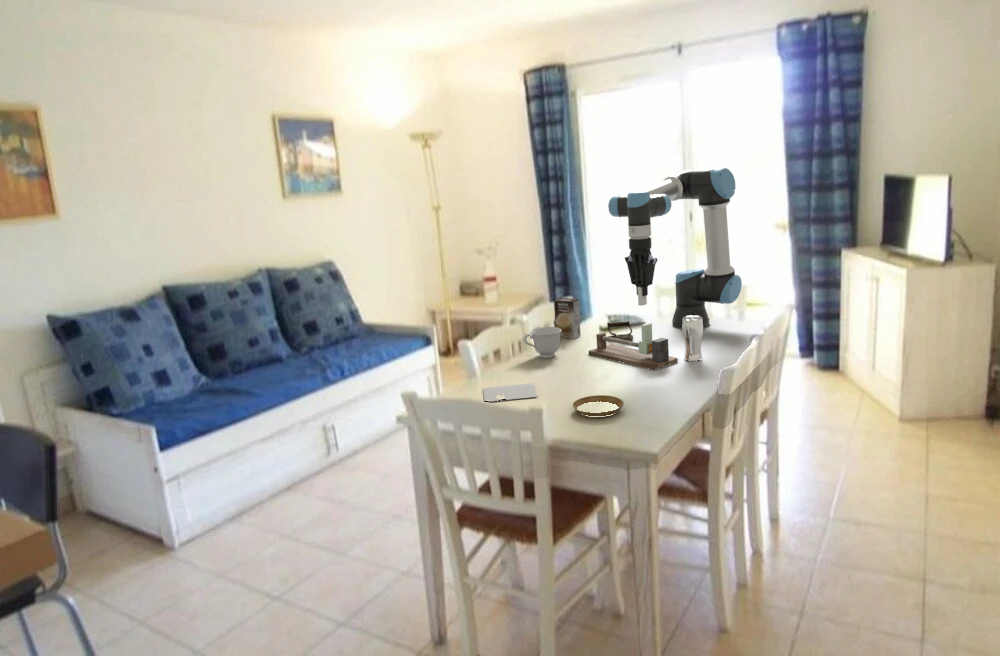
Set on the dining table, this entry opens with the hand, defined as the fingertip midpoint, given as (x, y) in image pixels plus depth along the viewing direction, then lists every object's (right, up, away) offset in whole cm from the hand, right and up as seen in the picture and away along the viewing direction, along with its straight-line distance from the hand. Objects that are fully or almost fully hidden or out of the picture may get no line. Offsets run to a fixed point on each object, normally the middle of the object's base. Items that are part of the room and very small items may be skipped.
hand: (642, 304), depth 239 cm
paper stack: (-43, -28, -13) cm, 53 cm away
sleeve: (+2, -17, +2) cm, 17 cm away
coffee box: (-21, -12, +47) cm, 53 cm away
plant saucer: (-21, -33, -40) cm, 56 cm away
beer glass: (+18, -19, +2) cm, 27 cm away
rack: (-2, -19, +9) cm, 21 cm away
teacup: (-33, -19, +21) cm, 44 cm away
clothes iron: (-2, -13, +35) cm, 38 cm away
